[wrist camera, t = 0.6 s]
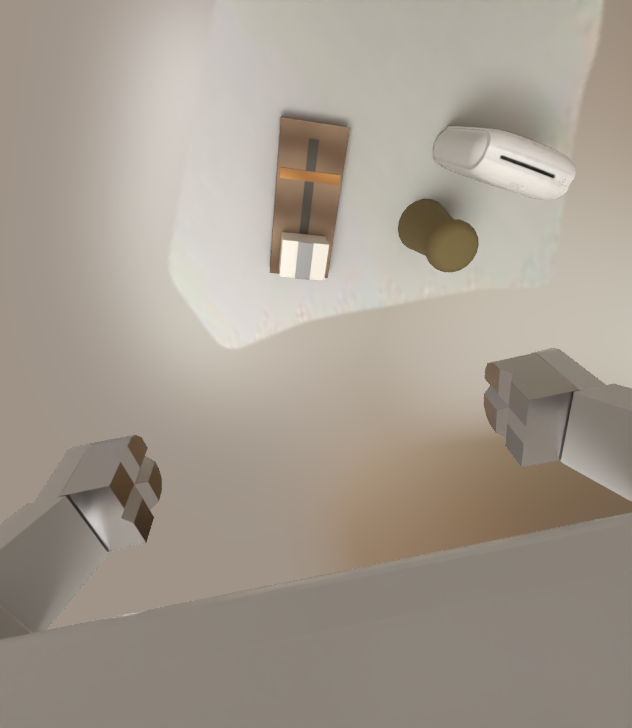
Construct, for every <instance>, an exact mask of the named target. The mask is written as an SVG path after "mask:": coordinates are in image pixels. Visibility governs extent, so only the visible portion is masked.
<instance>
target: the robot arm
mask: <svg viewBox="0 0 632 728" xmlns="http://www.w3.org/2000/svg"><path fill="white" fill-rule="evenodd" d="M485 379H486V381H487V382H488V383H489V384H490V387H489V388H488V389H487V391H486V392H485V394H484V408H485V412H486V416H487V419H488V421H489V423H490V425H491V427H492V428H493V429H494V431H495V432H496V433H498V434H500V435H503V436H505V437H506V447H507V448H508V450H509V451H510V453H511V454H512V455H513V457H514V458H515V459H516V460H517V462H518V463H519V465H520V466H521V467H524V466H529V465H535V464H541V463H546V462H552V461H558V460H561V462H562V463H564V464H565V465H567V466H569V467H571V468H573V469H574V470H576V471H578V472H580V473H581V474H583V475H585V476H587V477H589V478H591V479H592V480H594V481H596V482H598V483H599V484H601V485H603V486H605V487H607V488H608V489H610V490H612V491H614V492H616V493H617V494H619V495H621V496H623V497H625V498H626V499H628V500H630V501H632V389H631V388H628V387H623V386H620V385H617V384H610V385H606V384H604V383H603V382H602V381H600V380H599V379H598V378H596V377H595V376H594V375H592V374H591V373H590V372H589V371H587V370H586V369H585V368H583V367H582V366H581V365H579V364H578V363H577V362H575V361H574V360H573V359H572V358H570V357H569V356H567V355H566V354H565V353H564V352H562V351H561V350H559V349H556V348H550V349H546V350H542V351H538V352H534V353H531V354H528V355H523V356H518V357H513V358H509V359H504V360H500V361H495V362H490V363H487V366H486V369H485ZM146 451H147V446H146V444H145V443H144V441H143V439H142V437H140V436H137V435H133V436H127V437H122V438H116V439H111V440H106V441H101V442H95V443H90V444H85V445H80V446H75V447H72V448H70V449H69V450H67V451H66V453H65V455H64V456H63V458H62V459H61V461H60V462H59V464H58V466H57V467H56V469H55V470H54V472H53V474H52V475H51V477H50V478H49V480H48V481H47V483H46V484H45V486H44V487H43V489H42V491H41V492H40V494H39V495H38V497H37V498H36V500H35V502H33V503H29V504H26V505H25V506H23V507H22V508H21V509H19V510H18V511H17V512H15V513H14V514H13V515H12V516H10V517H9V518H8V519H6V520H5V521H4V522H2V523H1V524H0V728H632V513H628V514H623V515H618V516H613V517H609V518H603V519H598V520H593V521H588V522H583V523H578V524H573V525H568V526H563V527H558V528H553V529H548V530H543V531H538V532H533V533H528V534H523V535H518V536H513V537H508V538H503V539H498V540H494V541H488V542H483V543H478V544H474V545H469V546H463V547H459V548H453V549H449V550H443V551H438V552H434V553H428V554H424V555H418V556H414V557H408V558H403V559H398V560H394V561H389V562H384V563H379V564H374V565H369V566H364V567H359V568H354V569H349V570H344V571H339V572H334V573H329V574H324V575H319V576H314V577H309V578H304V579H299V580H294V581H289V582H284V583H280V584H274V585H270V586H264V587H260V588H254V589H249V590H244V591H239V592H235V593H229V594H224V595H220V596H214V597H210V598H205V599H200V600H195V601H190V602H185V603H180V604H175V605H170V606H165V607H160V608H155V609H150V610H145V611H140V612H135V613H130V614H125V615H120V616H115V617H110V618H105V619H101V620H95V621H90V622H86V623H80V624H75V625H70V626H66V627H61V628H55V629H51V630H47V629H48V627H49V626H50V625H51V624H52V623H53V621H54V620H55V619H56V618H57V616H58V615H59V614H60V613H61V611H62V610H63V609H64V608H65V607H66V605H67V604H68V603H69V602H70V600H71V599H72V598H73V597H74V596H75V594H76V593H77V592H78V591H79V589H80V588H81V587H82V586H83V585H84V583H85V582H86V581H87V580H88V578H89V577H90V576H91V575H92V573H93V572H94V571H95V570H96V569H97V567H98V566H99V565H100V564H101V562H102V561H103V560H104V559H105V558H106V556H107V555H108V552H109V551H113V550H118V549H122V548H126V547H131V546H135V545H140V544H144V543H146V542H147V539H148V535H149V532H150V529H151V525H152V522H153V519H154V516H153V515H152V513H151V511H150V510H151V509H152V508H153V507H154V506H155V505H156V503H158V501H159V499H160V495H161V491H162V478H161V474H160V471H159V468H158V466H157V464H156V462H155V461H153V460H152V459H150V458H148V457H146V456H145V454H146Z"/></svg>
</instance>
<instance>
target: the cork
mask: <svg viewBox="0 0 632 728" xmlns="http://www.w3.org/2000/svg"><path fill="white" fill-rule="evenodd" d="M398 232H399V237H400V239H401V241H402V243H403V244H404V245H406V246H407V247H408V248H410V249H412V250H415V251H417V252H419V253H421V254H424V255H426V257H427V259H428V261H429V263H430V264H431V265H432V266H433V267H435V268H436V269H437V270H440V271H443V272H455V271H458V270H461V269H462V268H464V267H466V266H467V265H468V264H469V263H470V262H471V261H472V260H473V258H474V256H475V255H476V253H477V249H478V236H477V234H476V232H475V230H474V228H473V227H472V226H471V225H470V224H468V223H466V222H464V221H461V220H454V219H453V218H452V217H451V216H450V215H449V214H448V213H447V211H446V210H445V209H444V208H443V207H442V206H441V205H440V204H439V203H438V202H436V201H433V200H430V199H422V200H419V201H416V202H414V203H413V204H411V205H410V206H408V207H407V209H406V210H405V211H404V212H403V214H402V216H401V218H400V220H399V226H398Z"/></svg>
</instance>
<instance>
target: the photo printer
mask: <svg viewBox="0 0 632 728" xmlns="http://www.w3.org/2000/svg"><path fill="white" fill-rule="evenodd" d="M434 157H435V158H434V161H435V162H436V163H437V164H439V165H440V166H442V167H444V168H446V169H449V170H450V171H454V172H456V173H459V174H461V175H464V176H466V177H469V178H472V179H475V180H478V181H481V182H484V183H487V184H490V185H492V186H497V187H500V188H503V189H506V190H509V191H512V192H515V193H518V194H521V195H524V196H527V197H530V198H535V199H541V200H553V199H556V198H558V197H560V196H562V195H563V194H564V193H565V192H566V191H567V190H568V188H569V185H570V183H571V181H572V180H573V179H574V177H575V173H576V172H575V171H576V169H575V165H574V163H573V162H572V161H571V160H570V159H569V158H568V157H566V156H565V155H563V154H562V153H560V152H558V151H556V150H554V149H552V148H549V147H547V146H545V145H542V144H540V143H538V142H535V141H533V140H530V139H527V138H525V137H522V136H519V135H516V134H513V133H510V132H507V131H503V130H499V129H492V128H478V127H461V126H448V127H447V128H446V130H445V131H443V132H442V133H441V134H440V135H439V137H438V138H437V140H436V142H435V145H434Z"/></svg>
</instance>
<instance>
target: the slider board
mask: <svg viewBox="0 0 632 728" xmlns="http://www.w3.org/2000/svg"><path fill="white" fill-rule="evenodd" d="M349 130H350V127H343V126H336V125H330V124H323V123H317V122H310V121H303V120H297V119H290V118H284V117H281V122H280V136H279V150H278V164H277V177H276V191H275V205H274V219H273V232H272V246H271V260H270V273H279V261H280V249H281V237H282V232H288V233H298V234H307V235H316V236H325V237H326V239H327V241H328V243H329V250H328V257H327V264H326V270H325V277H324V278H327V277H328V271H329V264H330V257H331V251H332V244H333V237H334V230H335V224H336V217H337V210H338V204H339V197H340V190H341V184H342V177H343V170H344V163H345V157H346V150H347V143H348V137H349Z"/></svg>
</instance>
